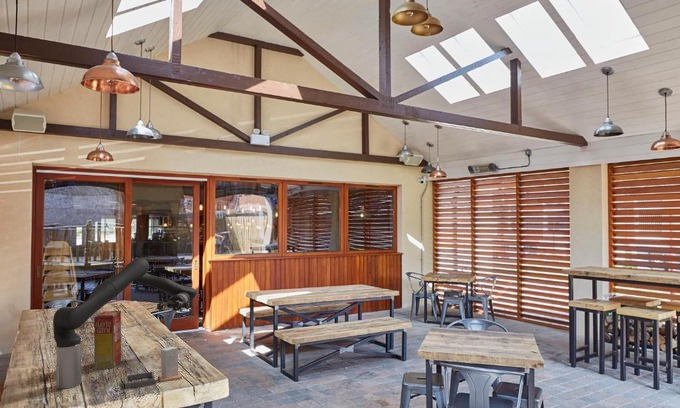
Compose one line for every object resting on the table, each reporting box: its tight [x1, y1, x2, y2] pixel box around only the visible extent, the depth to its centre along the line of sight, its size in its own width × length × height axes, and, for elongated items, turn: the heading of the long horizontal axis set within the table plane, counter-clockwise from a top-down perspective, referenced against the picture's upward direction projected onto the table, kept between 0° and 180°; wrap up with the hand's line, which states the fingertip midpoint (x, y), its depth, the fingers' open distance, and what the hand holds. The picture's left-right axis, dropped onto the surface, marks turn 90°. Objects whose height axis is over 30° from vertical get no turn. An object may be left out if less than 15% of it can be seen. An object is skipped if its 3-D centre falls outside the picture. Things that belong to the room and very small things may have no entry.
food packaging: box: [93, 310, 122, 370], centre depth 232 cm, size 13×9×25 cm
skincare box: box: [160, 346, 179, 378], centre depth 211 cm, size 6×4×12 cm
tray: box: [124, 371, 156, 389], centre depth 206 cm, size 12×12×2 cm
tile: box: [158, 370, 183, 383], centre depth 210 cm, size 9×9×1 cm
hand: (168, 308), depth 225 cm, fingers open, 8 cm apart
